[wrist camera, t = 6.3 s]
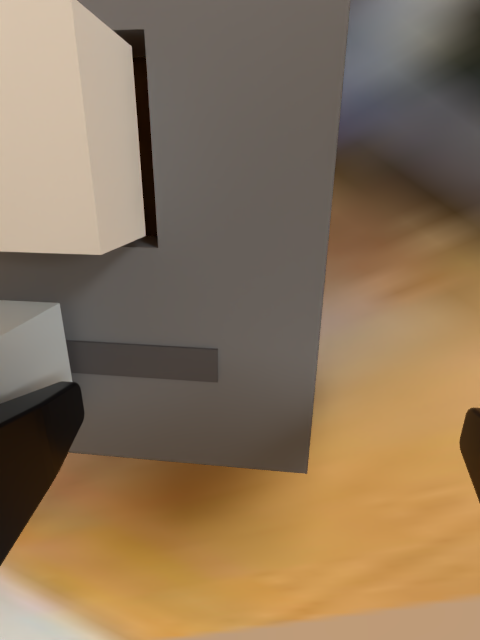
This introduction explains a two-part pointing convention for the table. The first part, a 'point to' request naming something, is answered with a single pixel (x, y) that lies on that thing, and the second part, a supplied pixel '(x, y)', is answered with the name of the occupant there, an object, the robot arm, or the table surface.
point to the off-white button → (66, 132)
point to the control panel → (211, 240)
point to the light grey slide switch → (31, 347)
